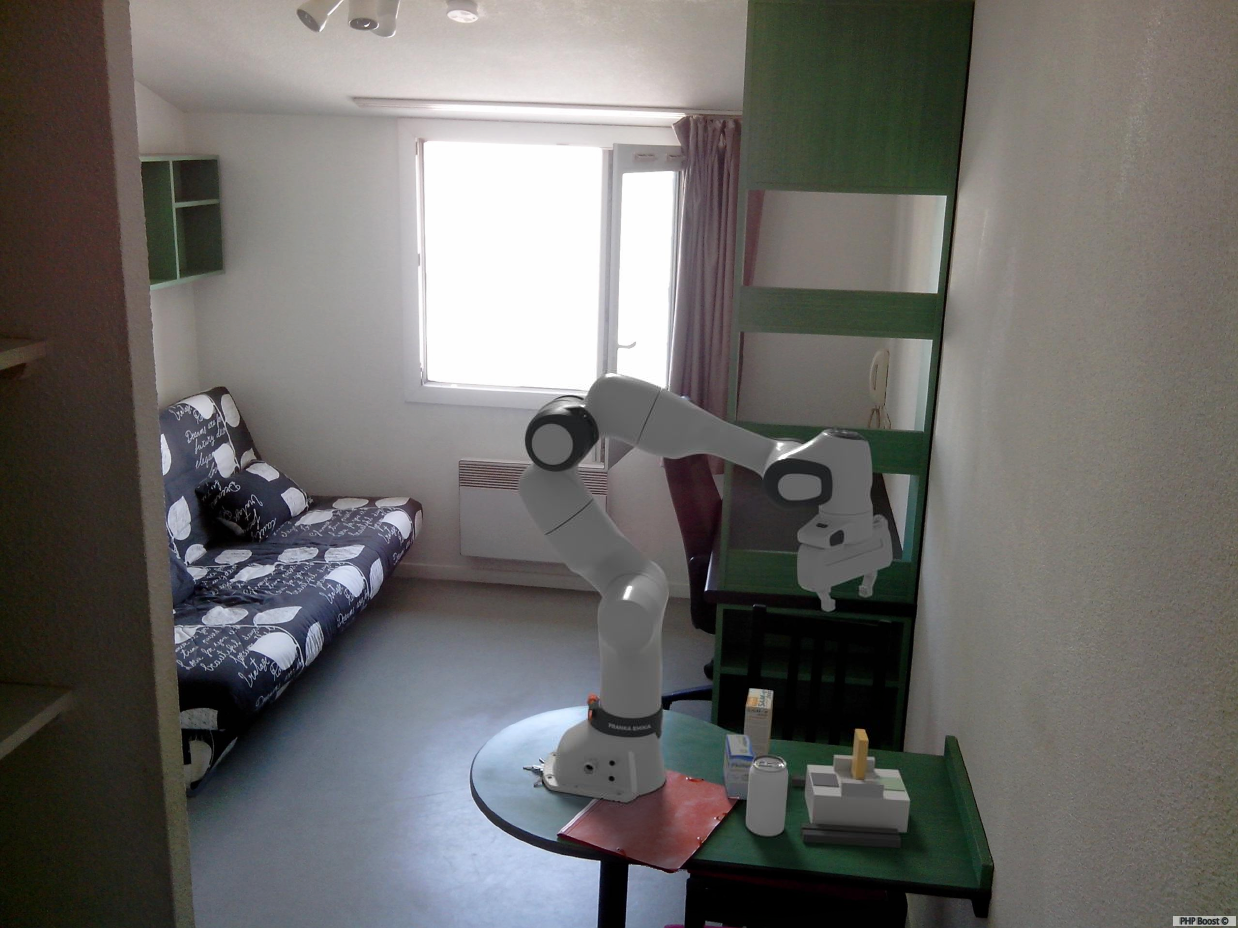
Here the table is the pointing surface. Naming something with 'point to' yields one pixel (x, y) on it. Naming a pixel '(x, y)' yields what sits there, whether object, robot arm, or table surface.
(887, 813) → the white slotted housing
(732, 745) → the medicine box
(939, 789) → the table surface
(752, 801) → the can
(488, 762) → the table surface
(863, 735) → the lever
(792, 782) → the dark grey long bar
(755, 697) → the supplement box
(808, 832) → the dark grey flat bar
